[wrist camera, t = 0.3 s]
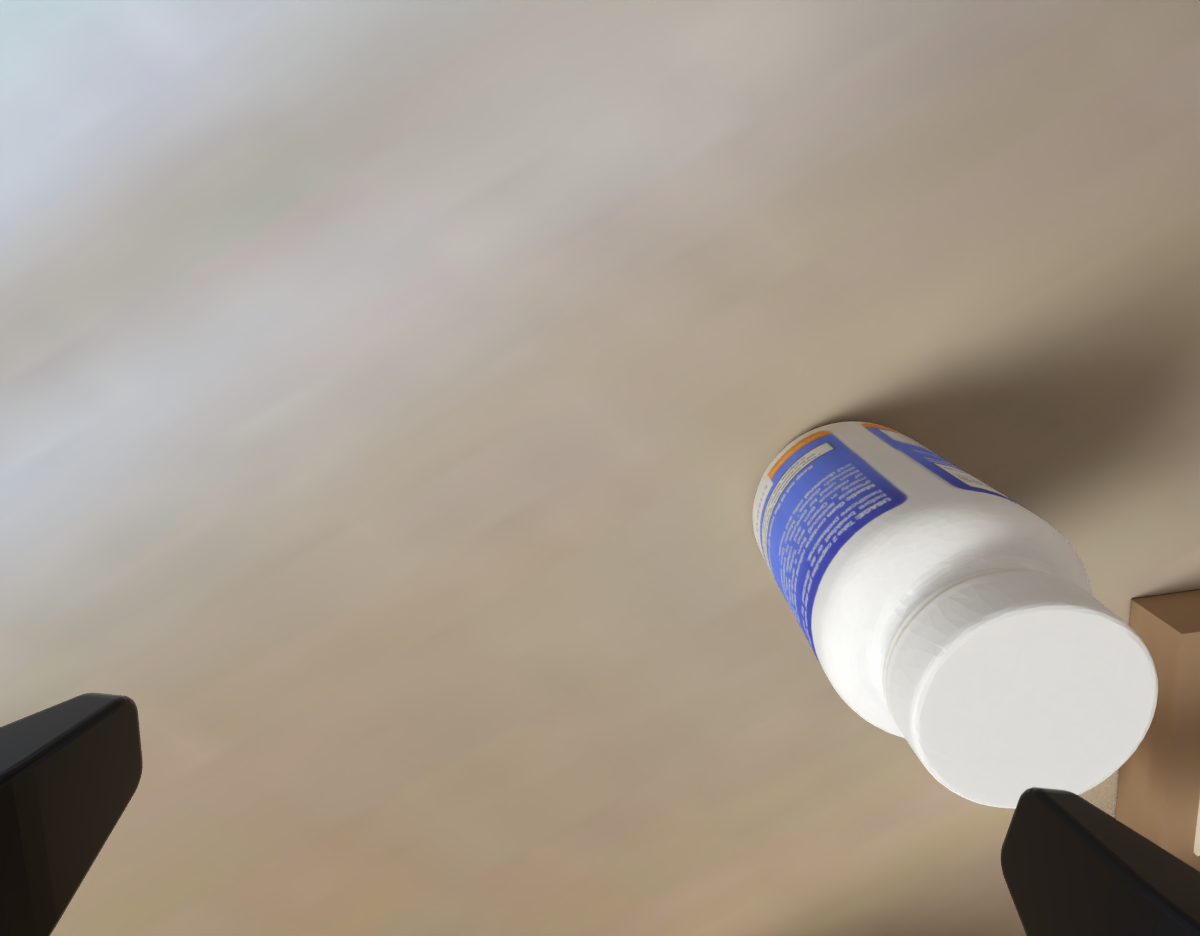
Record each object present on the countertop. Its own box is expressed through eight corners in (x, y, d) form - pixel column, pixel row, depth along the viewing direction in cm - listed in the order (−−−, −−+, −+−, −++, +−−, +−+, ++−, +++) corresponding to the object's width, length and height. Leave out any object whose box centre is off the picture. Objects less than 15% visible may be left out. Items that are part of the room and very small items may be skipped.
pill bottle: (762, 602, 22) (879, 871, 12) (736, 436, 20) (849, 602, 11) (941, 569, 21) (1198, 822, 12) (929, 397, 20) (1217, 536, 10)
